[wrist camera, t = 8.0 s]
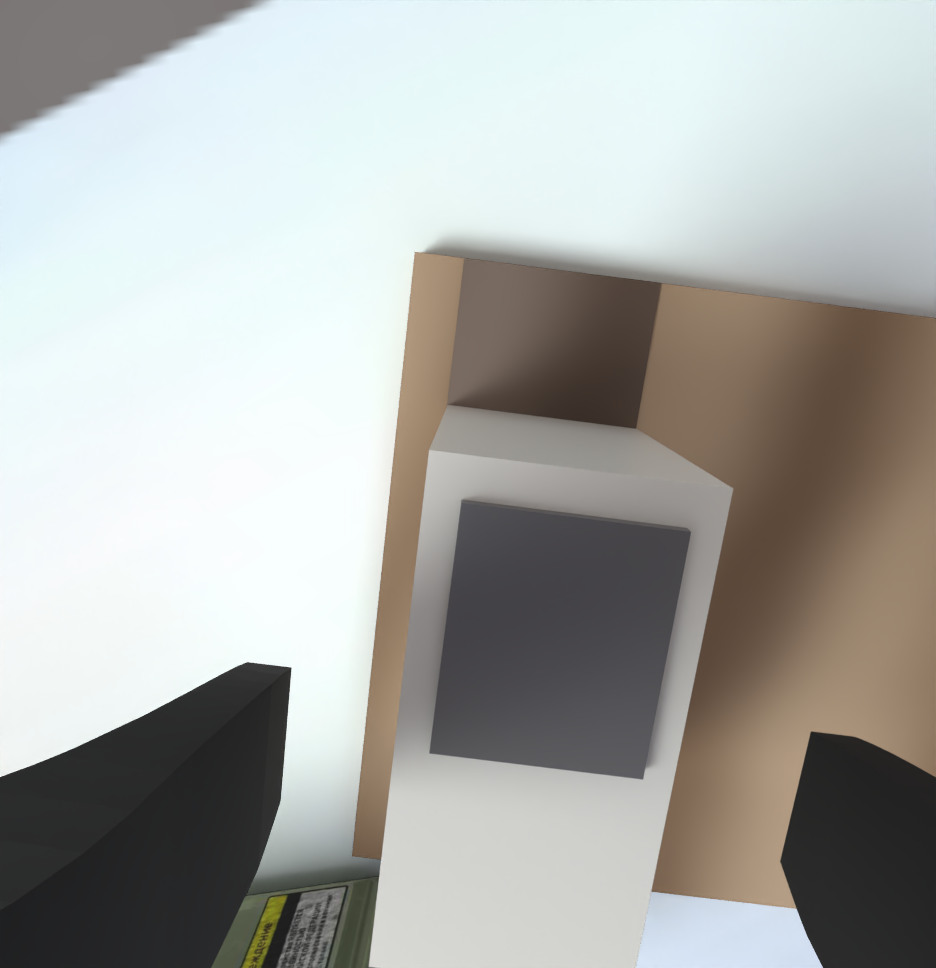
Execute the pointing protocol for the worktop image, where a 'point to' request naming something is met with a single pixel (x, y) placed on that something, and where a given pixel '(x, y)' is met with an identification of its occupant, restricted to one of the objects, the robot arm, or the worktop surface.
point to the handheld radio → (303, 928)
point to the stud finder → (542, 692)
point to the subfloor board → (748, 533)
